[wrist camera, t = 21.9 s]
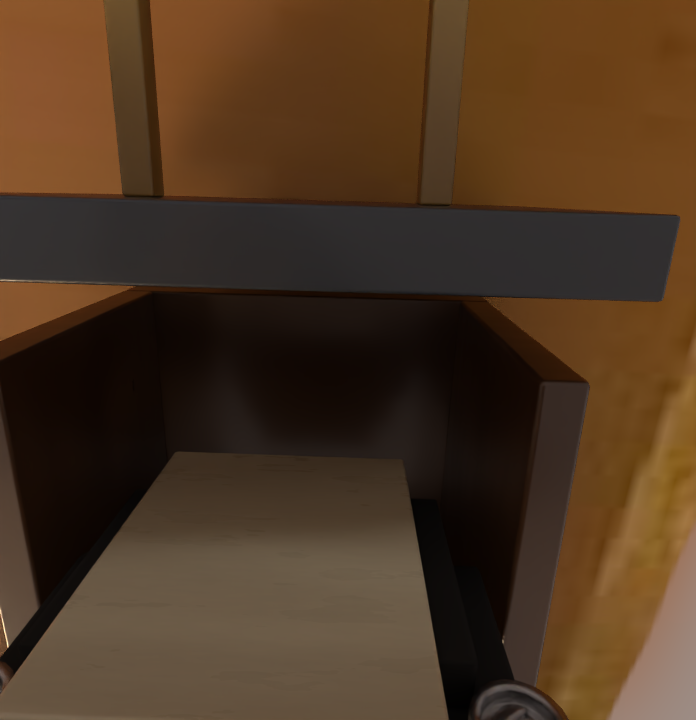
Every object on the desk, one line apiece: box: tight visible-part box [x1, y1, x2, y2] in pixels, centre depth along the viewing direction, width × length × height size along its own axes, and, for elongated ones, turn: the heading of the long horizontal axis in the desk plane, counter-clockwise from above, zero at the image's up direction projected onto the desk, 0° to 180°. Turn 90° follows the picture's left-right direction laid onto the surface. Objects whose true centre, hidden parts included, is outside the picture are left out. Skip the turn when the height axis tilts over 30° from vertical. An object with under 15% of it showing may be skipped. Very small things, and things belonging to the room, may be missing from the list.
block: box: [0, 452, 449, 720], centre depth 8 cm, size 5×5×6 cm
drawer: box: [0, 0, 680, 687], centre depth 12 cm, size 21×11×8 cm, turn 178°
